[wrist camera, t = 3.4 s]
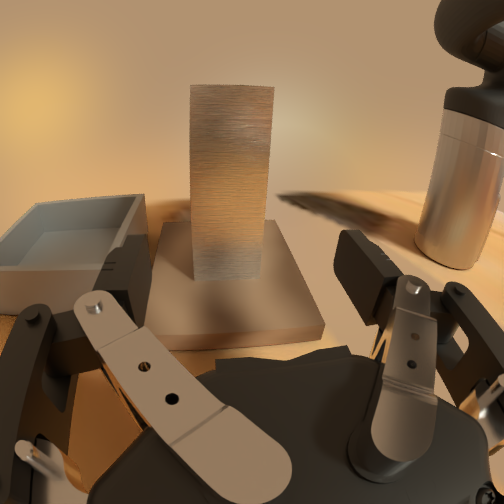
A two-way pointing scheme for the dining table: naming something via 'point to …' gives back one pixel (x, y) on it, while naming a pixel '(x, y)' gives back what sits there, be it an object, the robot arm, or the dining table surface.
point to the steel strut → (229, 178)
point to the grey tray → (64, 249)
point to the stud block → (228, 298)
